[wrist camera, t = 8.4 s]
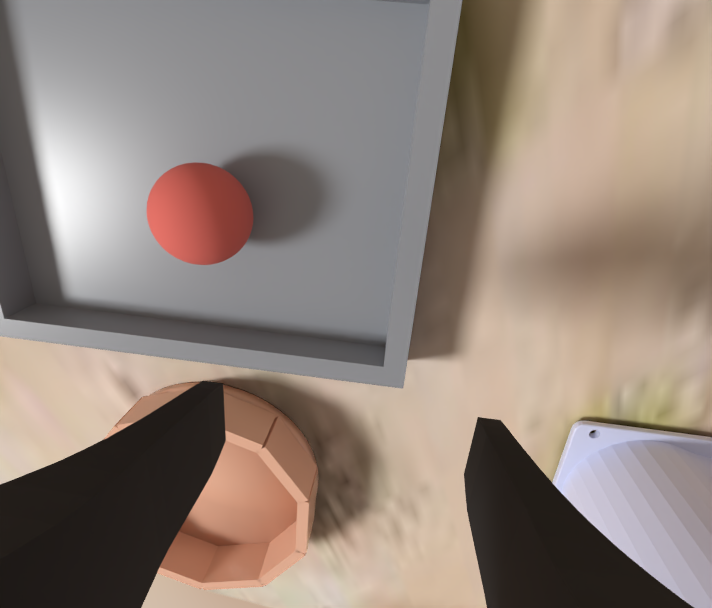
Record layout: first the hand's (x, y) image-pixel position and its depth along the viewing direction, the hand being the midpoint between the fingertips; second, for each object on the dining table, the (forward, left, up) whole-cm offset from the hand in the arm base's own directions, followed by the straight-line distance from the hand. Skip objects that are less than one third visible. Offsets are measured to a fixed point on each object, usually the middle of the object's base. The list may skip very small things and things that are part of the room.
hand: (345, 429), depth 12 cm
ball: (+7, -4, -7) cm, 11 cm away
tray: (+8, -5, -9) cm, 13 cm away
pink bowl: (+8, +12, -9) cm, 17 cm away
